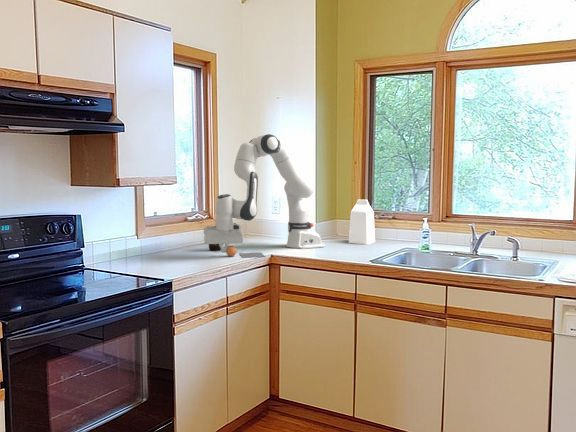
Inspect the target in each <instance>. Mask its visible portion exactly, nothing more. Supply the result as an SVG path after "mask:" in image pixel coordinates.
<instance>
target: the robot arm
mask: <svg viewBox="0 0 576 432" xmlns="http://www.w3.org/2000/svg"><path fill="white" fill-rule="evenodd" d="M236 154H237V155H236V157H235V160H234V161H235V162H234V166H233V169H234V170H233V171H234V173H235V175H236V176H237V177H238V178H239V179H241V180H243V181H244V182H245V183H246V198H245V200H237V199H235V198H233V197H232V196H233V195H231V194H227V193H225V194H220V195H218V196H217V197H216V200H215V209H214V211H215V220H214V221H215V225H207V226H205V227H204V228H203V234H204V238H203V243H204V244H205V245H209V244H219V246H220V248H221V250H220V252H221V253H226V249H227V247H229V244H234V245H236V244H238V245H239V244H243V243H244V232H243V230H242V226H241V225H240V224H237V223H236V222H233V219H236V220H244V221H247V222H249V221H252V220H253V219H255V218H256V216H257V214H258V203H257V202H258V187H259V177H258V174H257V173H256V166H257V165H256V163H257V159H258V158H260V157H266V156H268V155H269V156H270V157H271V159H272V161H273V163H274V165H275V167H276V168H277V170H278V173H279V174H280V176H281V177H282V178H283V180H285V183H284V185H283V186H284V187H283V189H284V192H285V194H286V199H287V206H288V221H287V232H288V234H287V241H286V245H285V246H286V247H287V248H290V249H291V248H293V249H301V250H302V249H315V248H316V249H317V248H325V247H326V244H325V243H324V242H322V237H321V235H320V234H319V233H318V232H316V231H315V230H314V229H313V227H314V226H315V224H314V222H313V223H312V222H309V207H308V205H307V203H306V199H307V198H310V197H311V196H312V195H313V193H314V185H313V184H312V183H311V181H309V179H308V178H307V177H306V175H305V174H304V172H303V171H302V169H301V168H300V167H299V166H298V163H297V161H296V159H295V157H294V155H293V154H292V151H291V150H290V148H289V147H288V145H287V143H286V142H285V141H284V140H282V139H278V138H277V137H276V135H273V134H270V133H269V134H264V135H260V136H258V137H254V138H252V139H250V140H249V141H248V142H244V143H242V144H241V145H240V146H239V148H238V151H237V153H236ZM222 244H223V245H224V246H225V247H224V248H223V245H222Z"/></svg>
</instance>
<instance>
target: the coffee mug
mask: <svg viewBox="0 0 576 432" xmlns="http://www.w3.org/2000/svg"><path fill="white" fill-rule="evenodd" d="M223 245H224V244H222V246H223ZM208 248H209V249H208V250H209V251H210V252H219V251H220V252H221V248H220V246H219V244H208Z"/></svg>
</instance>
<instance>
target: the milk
mask: <svg viewBox="0 0 576 432" xmlns="http://www.w3.org/2000/svg"><path fill="white" fill-rule="evenodd" d="M348 231H349V233H348V243H349V244H355V245H371V244H374V243H376V229H375V212H374V209H373V208H372V206H371V205H370V203H369V201H368V199H357V201H356V203H355V205H354V206H353V208H352V209H351V211H350V217H349V230H348Z"/></svg>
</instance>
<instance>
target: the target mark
mask: <svg viewBox="0 0 576 432" xmlns="http://www.w3.org/2000/svg"><path fill="white" fill-rule="evenodd" d="M240 255H241V256H240ZM239 256H240V257H241V258H243V259H244V258H246V259H247V258H249V259H250V258H264V257H266V255H265V254H263V253H262V252H244V253H243V252H242V253H241V252H240V253H239Z"/></svg>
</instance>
